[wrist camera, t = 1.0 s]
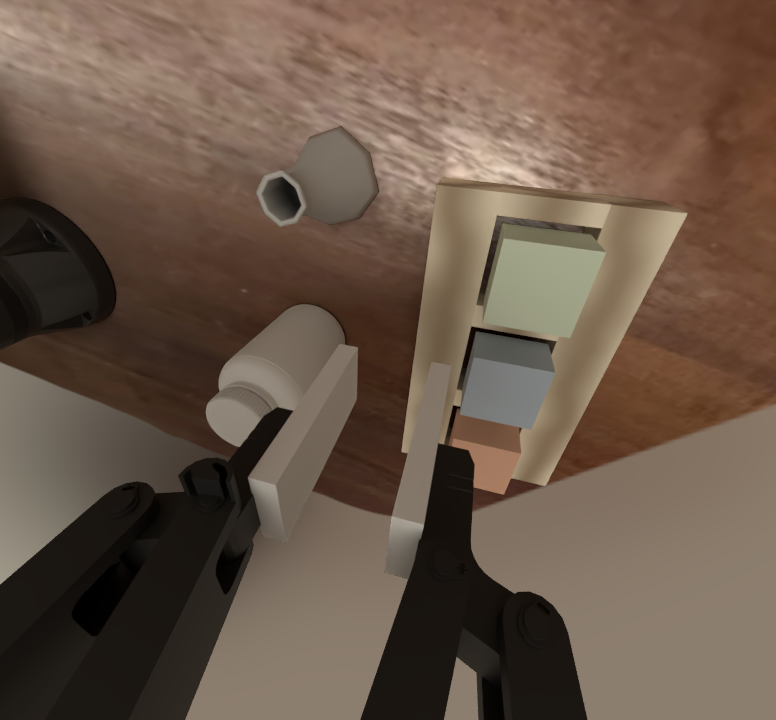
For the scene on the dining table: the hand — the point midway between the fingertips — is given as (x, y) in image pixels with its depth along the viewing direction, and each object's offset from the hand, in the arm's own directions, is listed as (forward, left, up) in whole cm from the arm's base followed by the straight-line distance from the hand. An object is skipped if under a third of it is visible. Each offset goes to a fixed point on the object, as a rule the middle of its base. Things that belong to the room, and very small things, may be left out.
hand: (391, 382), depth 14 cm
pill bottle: (-13, -12, -21) cm, 27 cm away
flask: (-10, +4, -21) cm, 23 cm away
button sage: (+7, 0, -17) cm, 18 cm away
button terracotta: (+7, -18, -17) cm, 26 cm away
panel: (+7, -9, -21) cm, 23 cm away
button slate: (+7, -9, -17) cm, 20 cm away
